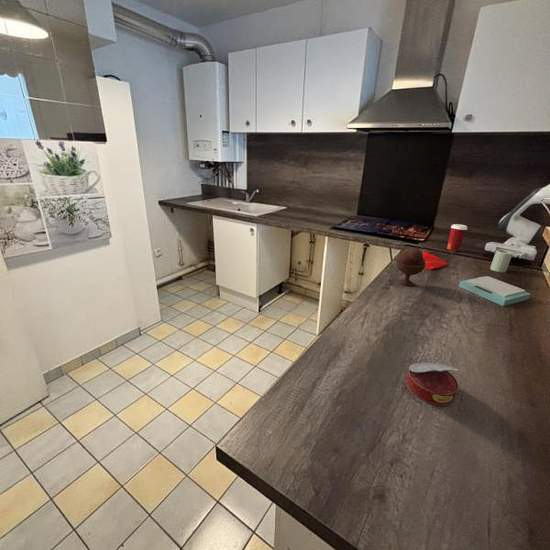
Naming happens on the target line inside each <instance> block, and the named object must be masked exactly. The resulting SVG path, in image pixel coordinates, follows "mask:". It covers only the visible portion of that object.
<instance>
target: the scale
mask: <svg viewBox="0 0 550 550" xmlns="http://www.w3.org/2000/svg"><path fill="white" fill-rule="evenodd" d="M459 281H460V282H459V285H458V287H459V288H460V289H463V290H465V291H467V292H469V293H473V294H474V295H477V296H479V297H481V298H483V299H485V300H489V301H490V302H492V303H495V304H497V305H499V306H502V307H505V306H510V305H513V304H517V303H520V302H524V301H528V300H529V299H530V297H531V293H530V292H527V291H526V290H525V289H523V288H520V287H518V286H515V285H512V284H510V283H507V282H504V281H502V280H499V279H496V278H494V277H491V276H489V275H486V276H485V275H483V276H480V277H474V278H470V279H465V280H459Z"/></svg>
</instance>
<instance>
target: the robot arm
mask: <svg viewBox="0 0 550 550" xmlns="http://www.w3.org/2000/svg"><path fill="white" fill-rule="evenodd" d="M545 198H550V183H549V184H548V185H545V186H544V187H538V188H536V189H534V190H533V191H532V192H530V194H529V195H527V196H526V197H525V198H523V199H522V201H520V202H519V203H518V204H517V205H516V206H515V207H514V208H513V209H512V210H510V211H509V212H508V213H506V214H505V215H504V216H503V217H501V219H500V220H499V222H498V223H497V225H498V229H499V230H500V231H501V232H503V233H506V234H508V235H511V236H512V237H509V238H508V239H506V241H505V242H503V243H500V242H495V241H489V242H487V243H486V244H485V247H484V250H485V251H487V252H491V253H494V254H495V252H496V250H507V251H510V252H512V253H513V254H512V257H511V258H517V259H524V260H529V261H534V260H535V258H536V256H537V253H538V252H537V249H536V248H537V247H536V246H535V245H534V244H535V243H536V242H537V241H538V239H539V238H540V237H541V235H542V234H543V230H544V228H543V226H542V225H541V224H539V223H537V222H535V221H532V220H529V219H527V218H526V217H523V216H521V214H522V213H523V212H524V211H526V209H528V208H529V207H530V206H532V205H536V204H537V205H538V204H541V205H542V201H541V200H542V199H544V200H543V203H544V205H550V199H545Z"/></svg>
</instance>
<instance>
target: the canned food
mask: <svg viewBox="0 0 550 550" xmlns="http://www.w3.org/2000/svg"><path fill="white" fill-rule="evenodd" d="M459 371H460V369H458V368H456V367H452V366H450V365H445V364H441V363H433V362H423V361H422V362H421V361H420V362H415V363H412V364H410V365H409V367H408V372H407V374H406V375H407V376H406V378H405V383H406V386H407V388H408V389H409V391H410V392H411V393H412V394H413V395H414V396H415V397H417V398H418V399H420V400H422V401H424V402H426V403H428V404H431V405H436V406H447V405H449V404H451V403H453V402H454V400H455V398H456V395H457V392H458V390H459V383H458V381H457V379H456V377H455V376H454V375H453V374H452V373H451V372H459Z"/></svg>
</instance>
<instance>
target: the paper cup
mask: <svg viewBox="0 0 550 550" xmlns="http://www.w3.org/2000/svg"><path fill="white" fill-rule="evenodd" d="M450 228H451V229H450V233H449V237H448V242H447V247H446V250H447V249H449V250H459V251H460V249H461V246H462V243H463V240H464V237H465V236H466V235H465V234H466V232H467V230H468V226H467V225H465V224H460V223H454V224H451V226H450Z"/></svg>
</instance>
